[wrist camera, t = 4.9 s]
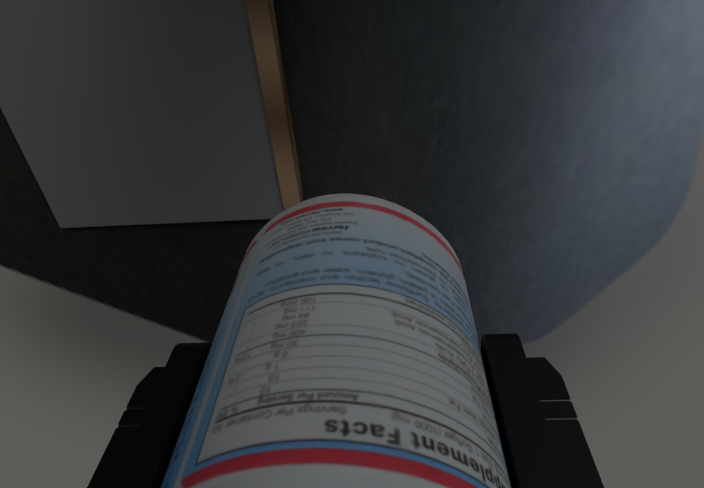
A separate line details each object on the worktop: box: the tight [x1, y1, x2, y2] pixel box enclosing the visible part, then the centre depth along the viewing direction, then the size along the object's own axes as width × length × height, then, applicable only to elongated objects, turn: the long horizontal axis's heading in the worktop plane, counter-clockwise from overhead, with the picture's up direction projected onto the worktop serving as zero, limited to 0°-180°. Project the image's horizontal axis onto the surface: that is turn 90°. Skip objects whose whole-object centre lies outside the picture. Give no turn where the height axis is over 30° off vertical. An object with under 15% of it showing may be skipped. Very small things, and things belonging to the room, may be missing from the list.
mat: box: [0, 0, 286, 228], centre depth 27 cm, size 14×15×1 cm
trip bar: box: [245, 0, 304, 209], centre depth 26 cm, size 12×1×1 cm, turn 4°
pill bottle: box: [161, 194, 512, 488], centre depth 10 cm, size 6×6×11 cm
